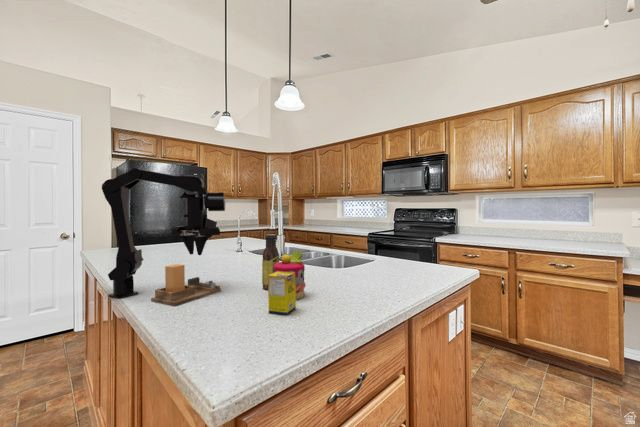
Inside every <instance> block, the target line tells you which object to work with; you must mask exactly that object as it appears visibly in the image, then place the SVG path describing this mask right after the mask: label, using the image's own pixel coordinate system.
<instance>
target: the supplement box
mask: <svg viewBox="0 0 640 427" xmlns="http://www.w3.org/2000/svg"><path fill="white" fill-rule="evenodd" d="M267 291H268V292H267V293H268V294H267V295H268V314H274V315H275V314H276V315H283V316H289V315H290V314H291V313H292V312H294V311H295V310H296V306H297V305H296V303H297V302H296V301H297V300H296V292H295V272H281V271H277V272H275V273H272V274H270V275H268V289H267Z"/></svg>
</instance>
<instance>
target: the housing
mask: <svg viewBox="0 0 640 427" xmlns="http://www.w3.org/2000/svg"><path fill="white" fill-rule="evenodd" d="M200 280H201V279H200V277H199V276H197V277H191V278H189V279H187V285H185V289H184V290H180V291H177V292H167V291H166V286H165V287H162V288H158V289H154V296H153V297H151V298H150V300H151V302H152V303H156V304H162V305H168V306H171V307H179V306H180V305H183V304H186V303H189V302H193V301H195V300H199V299H202V298H205V297H208V296H211V295H214V294H216V293H219V292H222V288H221V286H220V285H217V284H216V289H213V290H212V288H207V287H202V283H203V282H201V281H200Z"/></svg>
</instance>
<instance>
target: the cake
mask: <svg viewBox="0 0 640 427" xmlns="http://www.w3.org/2000/svg"><path fill="white" fill-rule="evenodd" d="M303 255H304V254H303V251H302V252H301V251H298V250H294V251H292V253H291V255H290V254H283V255H282V257H281V261H279V263H276V264H275V265H274V273H275V272H277V271H281V272H295V292H296V301H299V300H302V299H303V298H304V297H305V288H306V282H305V271H306V270H305V269H306V268H305V266H306V265H305V264H304V263H303V260H302V259H301V258H302V257H303Z"/></svg>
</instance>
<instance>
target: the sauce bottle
mask: <svg viewBox="0 0 640 427" xmlns="http://www.w3.org/2000/svg"><path fill="white" fill-rule="evenodd" d="M278 251H279V250H278V248H277V234H274V233H273V234H265V248H264V250H263V252H262V260H261V262H262V264H261V267H262V268H261V270H262V271H261V272H262V274H261V276H262V278H261V283H262V289H263V290H268V275H270V274H272V273H274V265H275V264H276V263H279V262H280V253H279V252H278Z"/></svg>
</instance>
